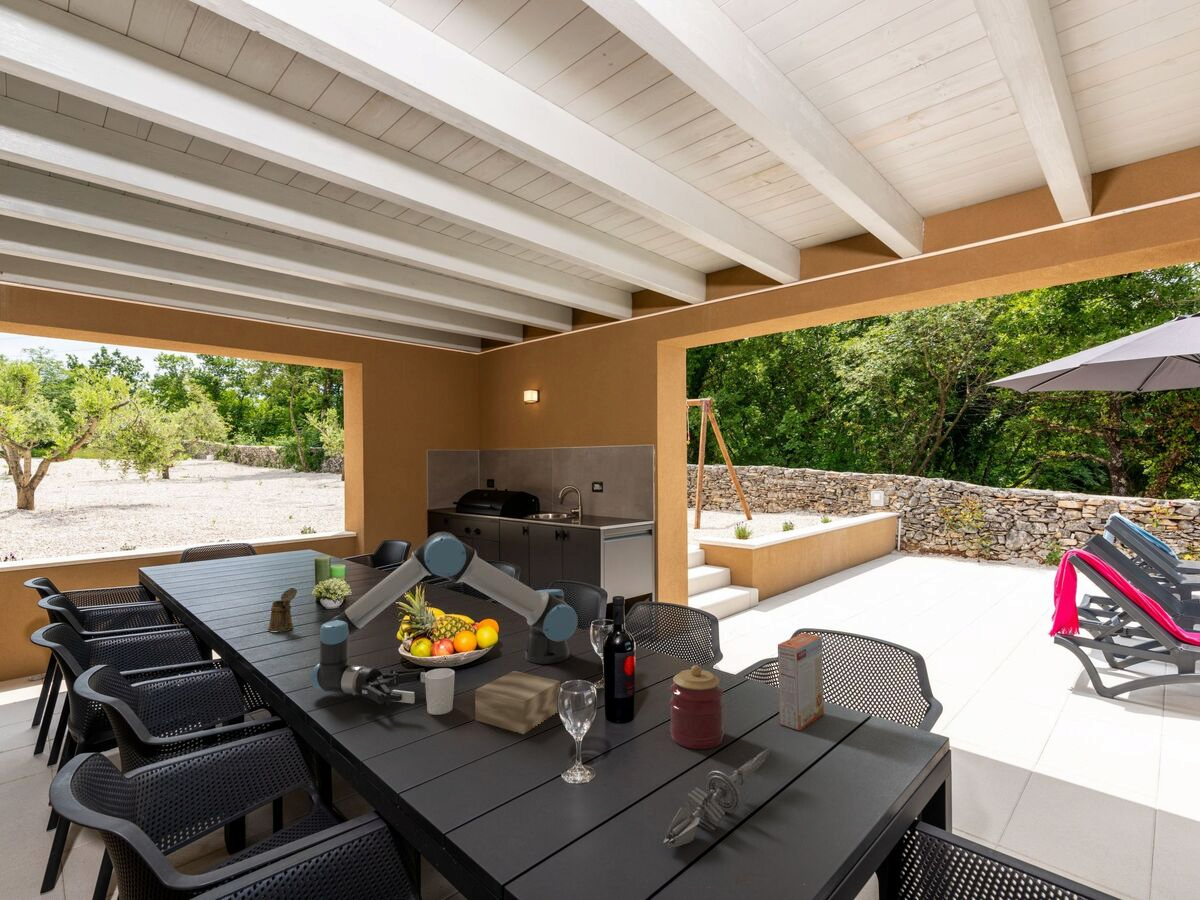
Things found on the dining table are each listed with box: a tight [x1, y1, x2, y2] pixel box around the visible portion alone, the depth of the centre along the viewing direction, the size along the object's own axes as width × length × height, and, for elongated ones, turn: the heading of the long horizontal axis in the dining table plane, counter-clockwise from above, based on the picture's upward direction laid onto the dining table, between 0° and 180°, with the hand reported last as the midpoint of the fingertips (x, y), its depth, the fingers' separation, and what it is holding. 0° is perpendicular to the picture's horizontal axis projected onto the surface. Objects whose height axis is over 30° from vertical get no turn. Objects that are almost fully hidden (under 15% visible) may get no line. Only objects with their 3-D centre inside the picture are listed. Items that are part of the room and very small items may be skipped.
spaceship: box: [663, 748, 771, 849], centre depth 115 cm, size 8×35×8 cm
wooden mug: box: [267, 587, 298, 632], centre depth 240 cm, size 9×14×18 cm, turn 55°
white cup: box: [424, 667, 455, 716], centre depth 163 cm, size 8×8×10 cm
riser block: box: [474, 670, 561, 735], centre depth 159 cm, size 16×16×8 cm
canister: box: [669, 664, 725, 750], centre depth 146 cm, size 13×13×18 cm
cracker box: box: [777, 632, 825, 732], centre depth 155 cm, size 14×6×21 cm, turn 134°
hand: (428, 688), depth 163 cm, fingers open, 13 cm apart
